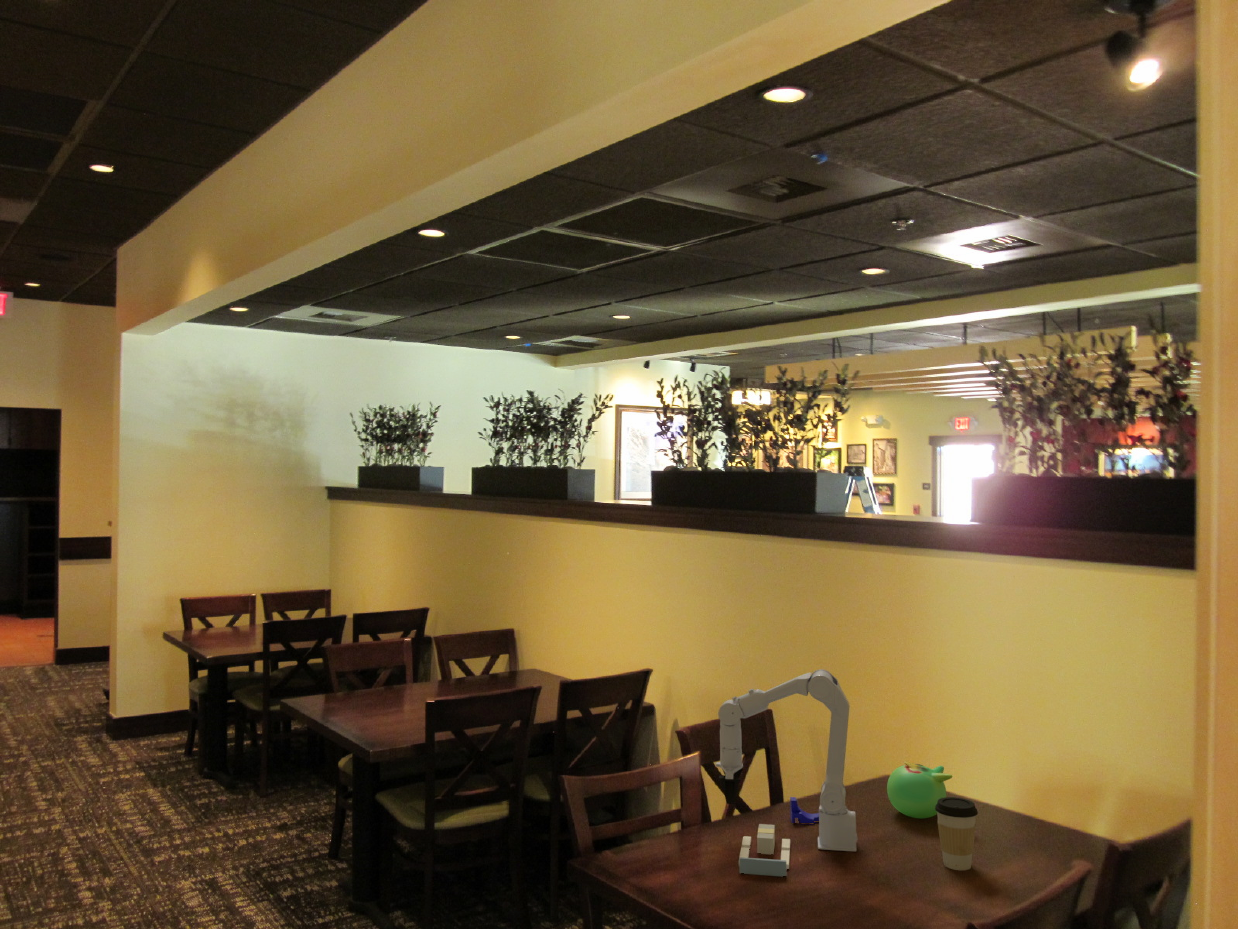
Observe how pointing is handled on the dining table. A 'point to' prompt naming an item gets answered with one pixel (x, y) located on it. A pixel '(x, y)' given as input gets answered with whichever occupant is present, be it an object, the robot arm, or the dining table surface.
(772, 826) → the banded cream box
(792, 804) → the navy blue l-shaped piece
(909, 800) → the toy bird
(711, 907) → the dining table surface
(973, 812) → the coffee cup
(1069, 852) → the dining table surface
